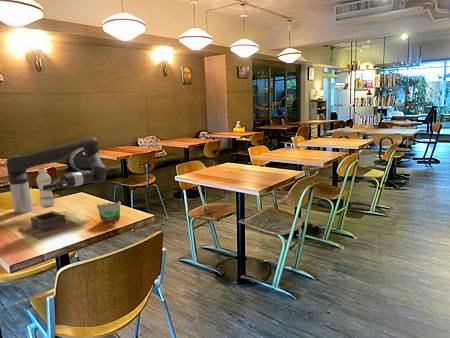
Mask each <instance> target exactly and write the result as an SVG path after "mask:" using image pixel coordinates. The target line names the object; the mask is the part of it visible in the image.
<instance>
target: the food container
mask: <svg viewBox="0 0 450 338" xmlns="http://www.w3.org/2000/svg"><path fill="white" fill-rule="evenodd" d="M121 206H122V203H121V201H120V200H118V202H108V203H107V202H106V203H104V204H97V205H96V209H98V213H99V217H100V221H102V222H103V224H111V223H110V222H114V223H116V222H115V221H117V222H119V221H120V220H121ZM119 219H120V220H119ZM118 220H119V221H118ZM102 222H101V223H102Z"/></svg>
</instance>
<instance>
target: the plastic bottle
mask: <svg viewBox="0 0 450 338" xmlns="http://www.w3.org/2000/svg"><path fill="white" fill-rule="evenodd" d="M37 170H38V171H37V173H38V175H37V176H36V184H38V187H39V188H38V190H39V204H40V207H42V208H45V209H48V208H52V207H54V206H55V204H56V203H55V202H56V201H55V198H54V195H53V192H52V190H53V189H52V188H51V189H48V190H43V186H44V185H49V184H51V179H52V177H51V176H50V174H48V170H47V167H40V168H38V169H37Z"/></svg>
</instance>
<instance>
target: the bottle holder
mask: <svg viewBox="0 0 450 338" xmlns="http://www.w3.org/2000/svg"><path fill="white" fill-rule="evenodd" d="M77 227H80V223H79V222H75V221H72V220H70V219H68V218H66V215H65V214H63V213H61V212H57V211H55V210H52V211H48V212H44V213H41V214H38V215H34V216H31V217H30V223H29V224H26V225H21V226H19V227H18V231H21V232H23V233H25V234H27V235H29V236H31V237H34V238H35V239H38V240H42V239H45V238H48V237H50V236H53V235H56V234H60V233H62V232H65V231H69V230H71V229H74V228H77Z"/></svg>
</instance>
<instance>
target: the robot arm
mask: <svg viewBox="0 0 450 338" xmlns="http://www.w3.org/2000/svg"><path fill="white" fill-rule="evenodd" d="M82 148H83V149H82ZM79 149H82V150H83V153H84V154H85V156H86V158H87V160H88V163H89V166H90V169H91V170H92V172H91V170H86V169H85V170H82V171H72V172H69V173H65V174H64V173H63V174H61V175H60V177H59V178H51V184H49V185H44V186H43V190H48V189H51V190H58V189H62V188H63V189H65V190H66V189H70V188H74V187H78V186H81V185H85V184H88V183H89V184H91V183H92V184H101V183H103V182H104V181H105V180H106V176H107V171H108V170H107V166H106V165H105V164H104V163H103V160H102V158H101V157H100V154H99V153H100V147H99V142H98V138H96V137H86V138H83V139H79V140H75V141H72V142H69V143H65V144H62V145H61V144H60V145H55V146H52V147H47V148H44V149H41V150H40V151H36V152H35V153H31V154H26V155H19V154H13V155H10V156H9V157H8V158H7V160H6V168H7V177H8V182H9V186H10V187H9V188H10V193H11V200H12V206H13V212H14V213H16V214H23V213H24V214H25V213H28V212H31V211H32V210H33V205H32V200H31V199H32V198H31V193H30V187H29V179H28V174H27V170H28V169H31V168H34V167H37V166H44V165H49V164H53V163H57V162H63V161H64V160H66V159H67V158H68V157H69V156H70V155H71V154H73V153H74V152H75V151H76V150H79ZM35 186H36V188H37V189H39V187H38V184H37V183H36V185H35Z"/></svg>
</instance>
